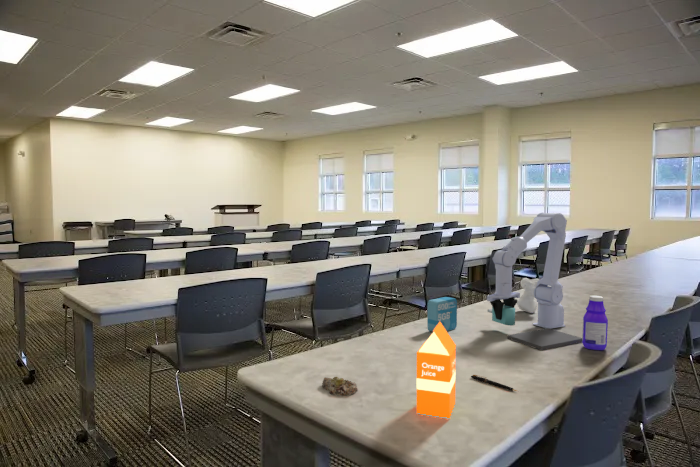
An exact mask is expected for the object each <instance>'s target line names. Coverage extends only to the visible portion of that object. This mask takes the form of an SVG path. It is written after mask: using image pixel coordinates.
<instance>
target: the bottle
mask: <svg viewBox="0 0 700 467" xmlns="http://www.w3.org/2000/svg"><path fill="white" fill-rule="evenodd" d="M588 298H589V299H588V304H587V306H586V308H585V310H586V312H585V313H584V315H583V317H582V335H581V336H582V337H581V338H582V342H581V343H582V345H583V347H584V348H585V349H588V350H594V351H604V350H605V349H606V348H607V345H608V324H609V322H608V317H607V315H606V311H607V309H606V308H605V305H604V297H603V296H601V295H596V294H595V295H594V294H593V295H589V297H588Z"/></svg>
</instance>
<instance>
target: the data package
mask: <svg viewBox="0 0 700 467" xmlns="http://www.w3.org/2000/svg"><path fill="white" fill-rule="evenodd" d="M426 313H427V317H426V318H427V321H426V322H427V327H426V329H427V330H428V331H429V332H430V333H433V332H434V331H433V330H434V329H435V327H436V326H437V325H438V323H439V322H441V324H442V325H443V327H444V328H445V330H446V331H447V332H449V331H452V330H456V329H457V326H458V315H457V314H458V300H457V299H456V298H454V297H450V296H444V297H438V298H433V299H429V300H428V301H427V312H426Z"/></svg>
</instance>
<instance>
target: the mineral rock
mask: <svg viewBox="0 0 700 467" xmlns="http://www.w3.org/2000/svg"><path fill="white" fill-rule="evenodd" d="M321 387H322V388H323V389H324V390H325V391H328V390H329V391H328V392H329V394H331V395H333V396H339V395H340V396H339V397H343V396H349V395H350V396H351V395H353V394H355V393H356V392H358V386H357V383H355V382H352V380H348V379H345V378H342V377H338V376H334V377H332V378H330V377H324V378H323V380H322V383H321Z"/></svg>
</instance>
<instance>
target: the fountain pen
mask: <svg viewBox="0 0 700 467" xmlns="http://www.w3.org/2000/svg"><path fill="white" fill-rule="evenodd" d="M470 377H471V378H472V379H473V380H475V381H478V382H480V383H484V384H486V385H487V384H488V385H490V386H494V387H497V388H500V389H504V390H506V391H511V392H513V391H514V392H518V390H517V389H514V388H513V387H511V386H507V385H505V384H502V383H499V382H497V381H493V380H491V379H488V378H487V377H485V376H482V375H478V374H472V375H471V376H470Z"/></svg>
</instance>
